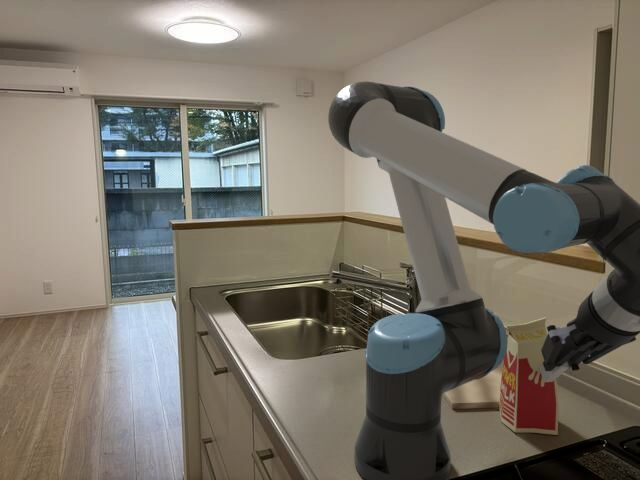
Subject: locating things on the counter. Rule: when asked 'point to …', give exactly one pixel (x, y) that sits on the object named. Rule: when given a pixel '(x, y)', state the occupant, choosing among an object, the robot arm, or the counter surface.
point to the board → (477, 392)
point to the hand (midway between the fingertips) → (545, 374)
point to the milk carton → (527, 382)
